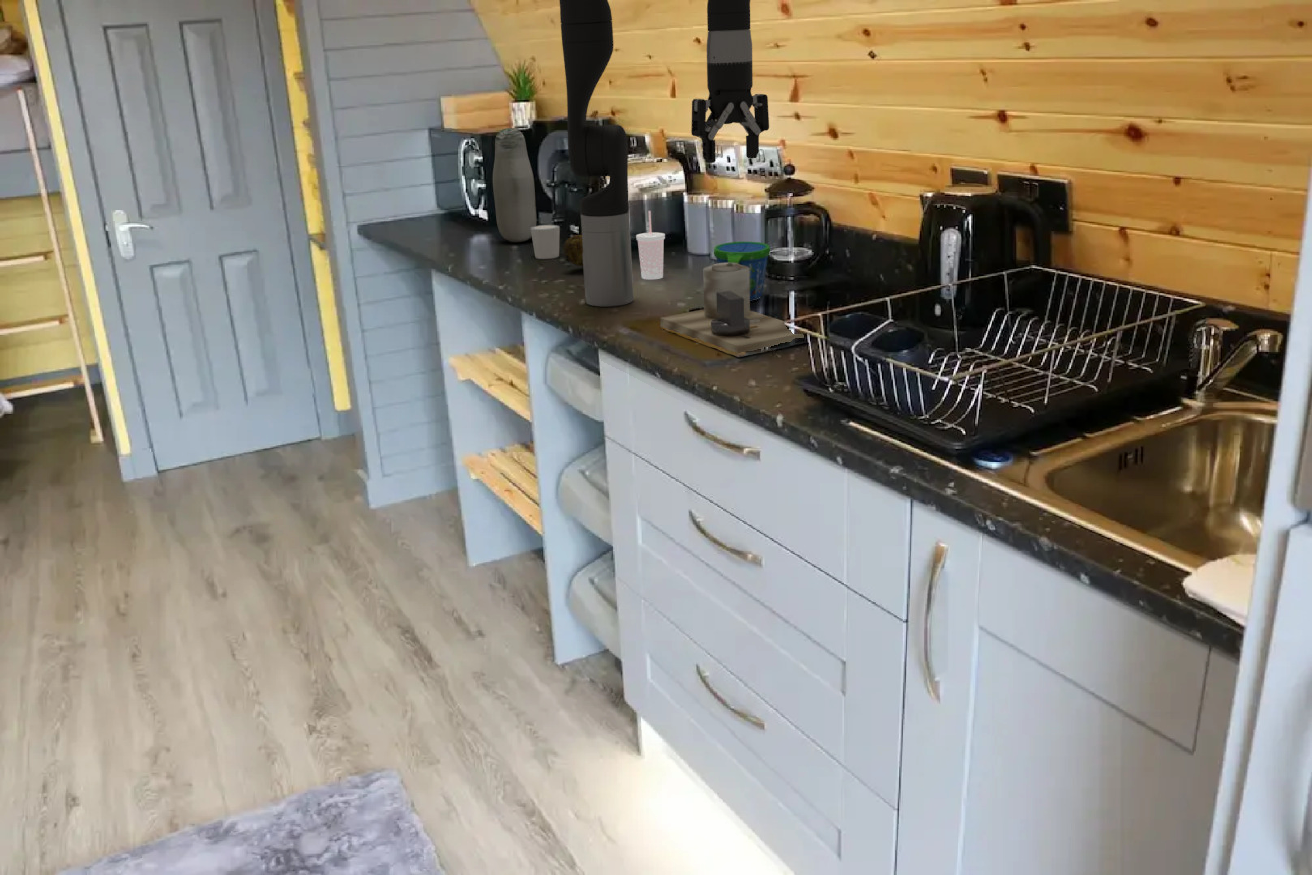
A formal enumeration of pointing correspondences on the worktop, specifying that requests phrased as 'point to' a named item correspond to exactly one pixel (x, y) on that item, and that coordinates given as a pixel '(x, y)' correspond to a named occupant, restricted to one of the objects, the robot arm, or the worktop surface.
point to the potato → (574, 250)
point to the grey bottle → (513, 186)
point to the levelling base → (731, 341)
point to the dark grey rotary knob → (731, 315)
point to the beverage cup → (651, 253)
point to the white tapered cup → (545, 241)
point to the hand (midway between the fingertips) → (731, 160)
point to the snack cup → (747, 261)
